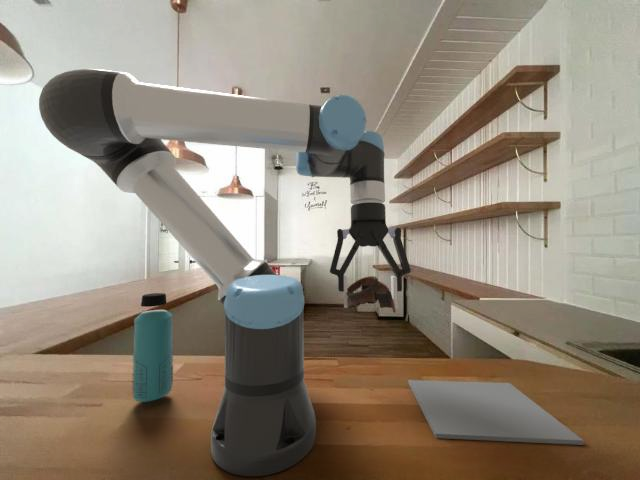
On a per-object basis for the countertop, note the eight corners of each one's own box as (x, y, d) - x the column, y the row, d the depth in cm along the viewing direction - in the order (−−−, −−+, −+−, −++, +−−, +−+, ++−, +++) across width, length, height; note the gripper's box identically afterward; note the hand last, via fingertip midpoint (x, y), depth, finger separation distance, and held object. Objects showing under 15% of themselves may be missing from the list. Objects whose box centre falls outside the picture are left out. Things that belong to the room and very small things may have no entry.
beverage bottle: (177, 400, 50) (179, 292, 52) (136, 416, 46) (139, 297, 47) (166, 389, 55) (168, 290, 56) (126, 402, 50) (129, 293, 51)
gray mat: (435, 437, 39) (435, 433, 39) (408, 383, 56) (408, 380, 56) (583, 444, 38) (583, 440, 38) (509, 386, 54) (509, 383, 54)
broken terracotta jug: (404, 318, 52) (386, 282, 51) (360, 337, 53) (341, 303, 52) (391, 293, 64) (376, 264, 63) (355, 310, 65) (339, 281, 64)
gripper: (414, 206, 62) (418, 303, 61) (318, 208, 64) (319, 303, 63) (424, 199, 55) (428, 310, 53) (315, 202, 57) (316, 310, 55)
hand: (370, 306), depth 58 cm, fingers closed on broken terracotta jug, 10 cm apart
